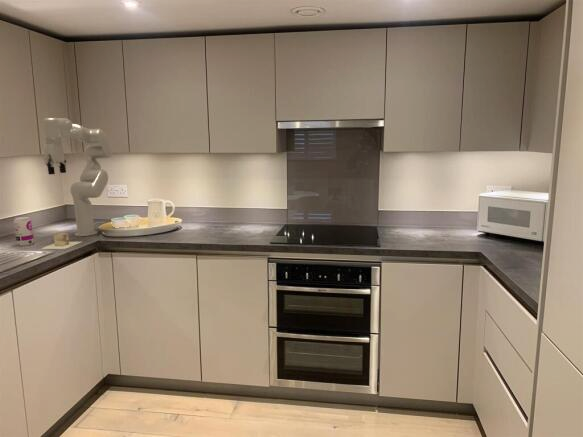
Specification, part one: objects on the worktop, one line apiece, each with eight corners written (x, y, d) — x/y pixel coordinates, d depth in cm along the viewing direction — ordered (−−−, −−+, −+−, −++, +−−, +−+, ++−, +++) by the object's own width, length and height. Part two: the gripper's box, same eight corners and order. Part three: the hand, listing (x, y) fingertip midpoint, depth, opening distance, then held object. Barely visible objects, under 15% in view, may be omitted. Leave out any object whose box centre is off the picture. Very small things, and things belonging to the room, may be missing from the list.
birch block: (60, 243, 245) (59, 233, 244) (69, 243, 244) (67, 233, 243) (54, 246, 240) (53, 235, 239) (63, 246, 239) (62, 235, 238)
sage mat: (59, 242, 251) (59, 241, 251) (82, 242, 249) (82, 241, 249) (40, 249, 235) (40, 248, 235) (65, 249, 233) (64, 248, 233)
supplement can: (37, 242, 251) (33, 216, 248) (29, 246, 243) (25, 219, 240) (22, 243, 251) (18, 216, 248) (14, 246, 243) (10, 219, 240)
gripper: (57, 141, 249) (61, 172, 252) (36, 142, 232) (40, 175, 235) (69, 141, 248) (73, 172, 251) (49, 141, 231) (53, 174, 234)
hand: (57, 173), depth 243 cm, fingers open, 9 cm apart
